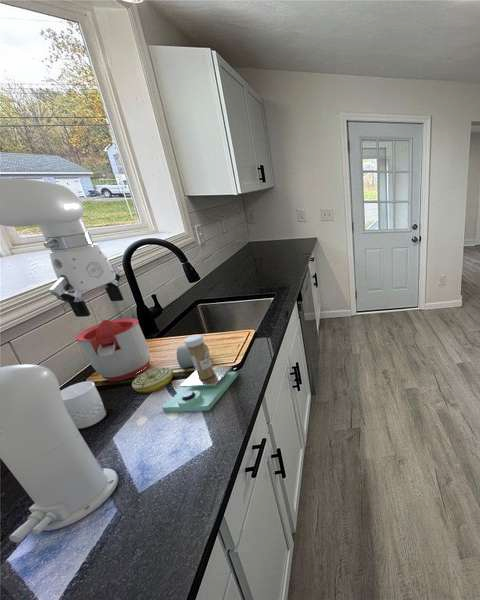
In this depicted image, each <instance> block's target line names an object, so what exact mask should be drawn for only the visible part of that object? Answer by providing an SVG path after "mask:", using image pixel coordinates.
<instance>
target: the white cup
mask: <svg viewBox="0 0 480 600" xmlns="http://www.w3.org/2000/svg"><path fill="white" fill-rule="evenodd" d="M60 392H61V396H62V400H63V403H64V405H65V407H66V410H67V412H68V414H69V415H70V417H71V419H72V421H73V422H74V424H75V426H76V427H77V429H78V430H79V429H84V428H85V429H86V428H89V427H91V426H94V425H95V424H98V423H99V422H100V421H102V420H103V419H104V418H105V417H106V416H107V410H106V408H105V406H104V403H103V400H102V398H101V395H100V393H99V391H98V389H97V387H96V384H95V382H94V381H91V380H89V381H81V382H77V383H75V384H72V385H69V386H67V387H65V388H63V389H60Z"/></svg>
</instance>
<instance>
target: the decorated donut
mask: <svg viewBox="0 0 480 600" xmlns="http://www.w3.org/2000/svg"><path fill="white" fill-rule="evenodd" d="M173 376H174V371H173V369H172V368H170V367H156V368H153V369H149V370H146V371H143V372H142V373H140V374H138V375H137V376H136V377H135V378H134V380H133V381H132V383H131V387H132V389H133V390H134V391H135V392H137V393H139V394H149V393H153V392H156V391H158V390H161V389H163V388H165V387H166V386H168V385H169V384H170V383H171V381H172V379H173Z"/></svg>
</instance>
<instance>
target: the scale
mask: <svg viewBox="0 0 480 600" xmlns="http://www.w3.org/2000/svg"><path fill="white" fill-rule="evenodd" d="M237 377H238V372H237V371H229V372H228V374H227V375H226V376H225V377H224V378H223V379H222V380H221V381H220V383H219V384H218V385H217V386H198V387H181V388H180V389H179V391H178V392H176V393H175V394H174V396H173V397H171V398H170V399H169V400H168V401H167V402H166V404H164V405H163V406H162V410H163V413H173V412H174V413H175V412H177V413H179V412H203V411H204V412H206V411H210V410H211V409H212V408H213V407H214V405H215V404H216V403H217V402H218V401H219V399H220V398H221V397H222V396H223V394H224V393H225V392H226V391H227V390H228V388H229V387H230V386H231V385H232V384H233V382H234V381H235V380H236V378H237ZM188 391H193V393H194V395H195V396H194V398H192V399H190V400H187V401H185V400H184V399H183V394H184V393H186V392H188Z"/></svg>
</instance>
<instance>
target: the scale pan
mask: <svg viewBox="0 0 480 600" xmlns="http://www.w3.org/2000/svg"><path fill="white" fill-rule="evenodd" d="M212 367H213V366H212ZM232 369H233V366H214V367H213V370H214V372H215V374H214V375H213V376H212V377H210V378H208V379H204V380H201V379H199V378H198V374H197V371H196V370H195V371H194V372H192V373H191V375H189V376H188V377H187V378H186V380H184V381H183V382H182V383H181V384H180V388H183V387H198V386H217V385H218V384H219V383H220V381H221V380H222V379H223V378H224V377H225V376H226V375H227V374H228V372H231V370H232Z"/></svg>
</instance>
